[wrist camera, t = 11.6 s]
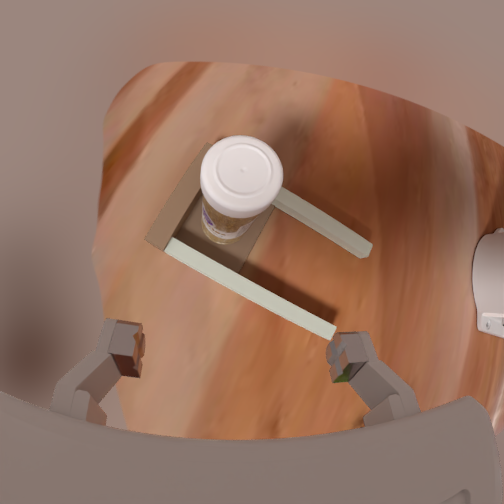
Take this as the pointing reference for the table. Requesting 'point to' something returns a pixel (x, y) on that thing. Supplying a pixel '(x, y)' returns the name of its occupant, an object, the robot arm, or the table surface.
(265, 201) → the sprinkles bottle
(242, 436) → the table surface
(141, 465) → the robot arm
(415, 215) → the table surface
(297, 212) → the lane
